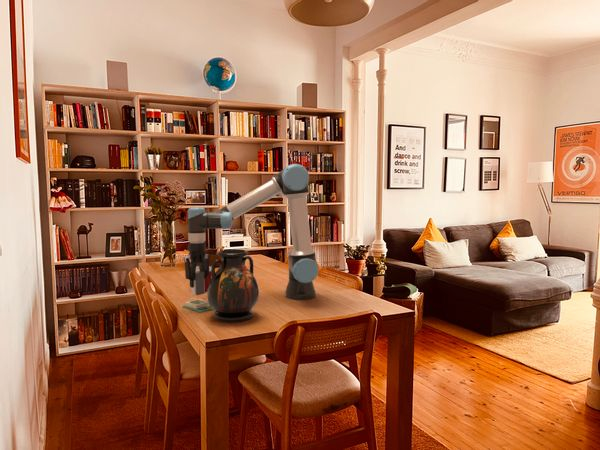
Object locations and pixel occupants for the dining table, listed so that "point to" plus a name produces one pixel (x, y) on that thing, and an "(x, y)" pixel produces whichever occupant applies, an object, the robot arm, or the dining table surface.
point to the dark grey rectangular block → (199, 282)
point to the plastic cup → (206, 278)
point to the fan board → (198, 305)
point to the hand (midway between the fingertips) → (197, 293)
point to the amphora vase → (232, 287)
